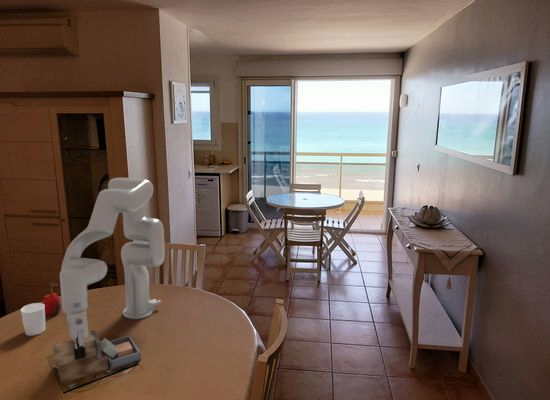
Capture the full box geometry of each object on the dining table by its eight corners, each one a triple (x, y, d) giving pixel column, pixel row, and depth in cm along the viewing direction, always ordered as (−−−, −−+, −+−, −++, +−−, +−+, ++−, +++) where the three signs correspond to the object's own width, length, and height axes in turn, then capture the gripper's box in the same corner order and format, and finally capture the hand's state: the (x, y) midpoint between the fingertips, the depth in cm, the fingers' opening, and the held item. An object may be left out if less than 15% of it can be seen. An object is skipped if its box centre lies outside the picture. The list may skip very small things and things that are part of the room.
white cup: (36, 338, 151) (33, 313, 148) (18, 335, 152) (15, 311, 150) (51, 327, 158) (49, 304, 156) (34, 324, 160) (32, 301, 158)
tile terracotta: (114, 345, 142) (114, 351, 142) (117, 352, 138) (118, 358, 138) (128, 341, 145) (129, 347, 145) (132, 348, 141) (132, 354, 141)
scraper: (96, 345, 140) (94, 330, 139) (101, 358, 133) (100, 342, 131) (53, 357, 132) (51, 341, 131) (57, 371, 125) (55, 354, 124)
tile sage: (109, 350, 141) (114, 345, 142) (112, 358, 137) (118, 352, 138) (99, 343, 138) (104, 337, 139) (102, 350, 134) (108, 344, 135)
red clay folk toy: (54, 308, 173) (51, 276, 170) (65, 312, 170) (62, 279, 167) (37, 315, 167) (34, 282, 164) (48, 319, 164) (45, 285, 161)
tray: (130, 342, 149) (129, 335, 149) (140, 360, 139) (140, 352, 138) (101, 350, 144) (101, 343, 143) (110, 369, 133) (110, 361, 133)
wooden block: (100, 352, 143) (100, 342, 142) (108, 368, 134) (107, 358, 133) (56, 365, 135) (55, 355, 134) (61, 383, 126) (60, 372, 125)
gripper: (93, 311, 124) (96, 364, 128) (83, 292, 138) (86, 340, 141) (66, 317, 120) (70, 371, 124) (58, 297, 133) (62, 346, 137)
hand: (79, 354), depth 133 cm, fingers closed on scraper, 3 cm apart
